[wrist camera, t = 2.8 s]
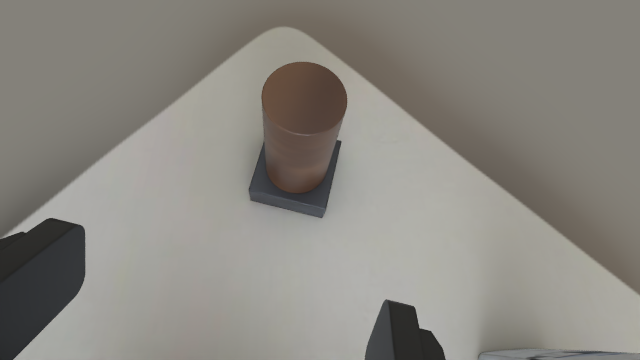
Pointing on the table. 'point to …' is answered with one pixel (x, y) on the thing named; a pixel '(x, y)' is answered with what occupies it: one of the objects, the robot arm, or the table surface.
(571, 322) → the table surface
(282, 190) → the stamp
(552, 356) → the ink box
